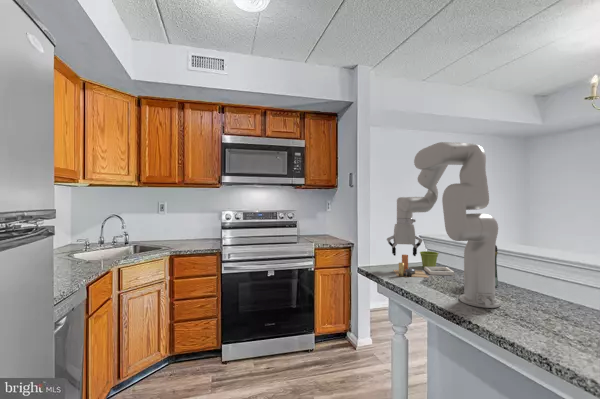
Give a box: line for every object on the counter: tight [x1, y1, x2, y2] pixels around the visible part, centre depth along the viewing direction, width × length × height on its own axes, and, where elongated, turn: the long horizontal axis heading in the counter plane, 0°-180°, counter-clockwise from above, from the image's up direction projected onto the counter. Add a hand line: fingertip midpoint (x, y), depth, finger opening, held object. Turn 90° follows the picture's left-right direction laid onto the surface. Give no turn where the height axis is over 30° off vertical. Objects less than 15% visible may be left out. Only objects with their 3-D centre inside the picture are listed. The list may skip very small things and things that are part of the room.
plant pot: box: [419, 250, 439, 268], centre depth 161 cm, size 9×9×9 cm
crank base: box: [393, 269, 430, 279], centre depth 147 cm, size 14×14×3 cm
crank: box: [398, 262, 416, 276], centre depth 144 cm, size 11×4×6 cm, turn 131°
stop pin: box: [401, 254, 409, 271], centre depth 152 cm, size 3×3×8 cm
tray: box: [423, 266, 456, 278], centre depth 149 cm, size 11×11×2 cm
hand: (404, 255), depth 153 cm, fingers open, 9 cm apart
